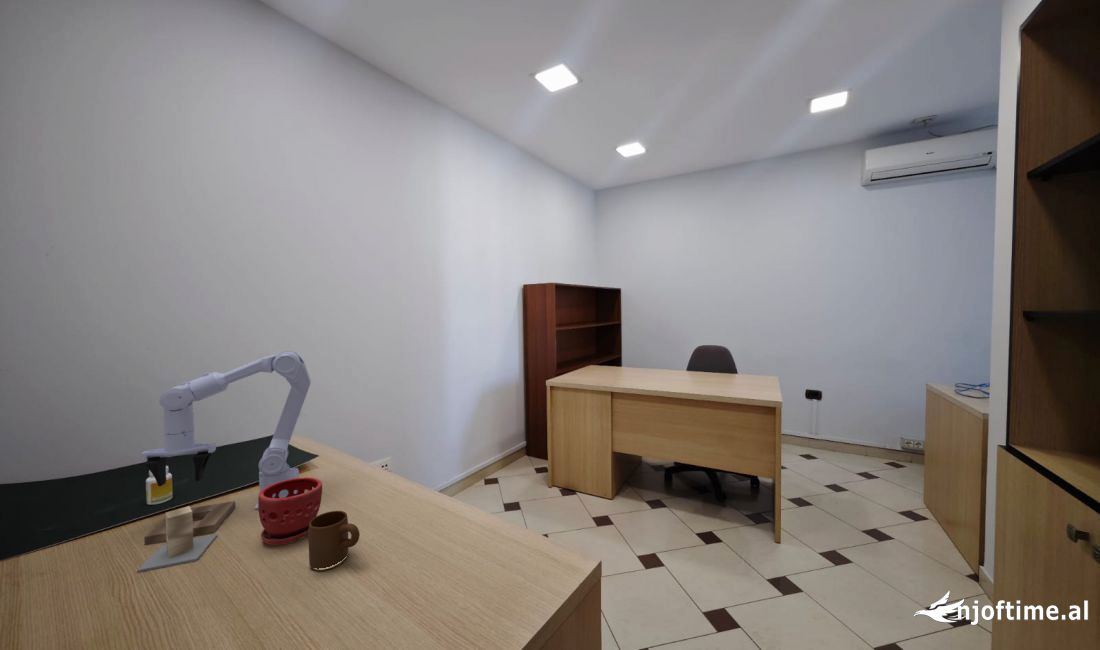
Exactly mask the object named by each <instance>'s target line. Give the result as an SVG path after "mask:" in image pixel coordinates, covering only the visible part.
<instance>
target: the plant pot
mask: <svg viewBox="0 0 1100 650" xmlns="http://www.w3.org/2000/svg"><path fill="white" fill-rule="evenodd" d="M282 490H287V491H288V495H287V496H286V497H284V498H280V497H279V493H280V492H281V491H282ZM294 490H297V491H298V492H297V493H296V494H295V493H294ZM306 490H307V491H306ZM305 491H306V492H305ZM273 494H276V496H275V497H274V498H273V497H272V496H273ZM322 495H323V482H322V481H321V480H320V479H318V478H315V477H299V478H294V479H288V480H284V481H281V482H277V483H274V484H272V485H270V486H268V487H266V488H264V489H263V490H261V492H260V491H259V494H258V500H257V503H258V509H257V510H258V516H259V520H260V523H261V526H262V528H263V530H262V531H261V533H260V539H261V540H262V541H263V542H264V543H266V544H267V545H276V546H277V545H278V546H279V545H286V544H287V545H288V544H290V543H294V542H296V541H299V540H301V539H304V538H305V537H306V536H308V531H309V523H310V521H311V520H312V519H313V518H315V517H316V516H318V515H319V514H318V513H319V511H320V508H321V503H322Z"/></svg>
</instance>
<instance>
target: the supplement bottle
mask: <svg viewBox="0 0 1100 650" xmlns="http://www.w3.org/2000/svg"><path fill="white" fill-rule="evenodd" d="M169 469H170V468H169V466H168V465H166V483H165V484H164V485H162V486H158V484H157V482H156V479H155V477H154V476H153V474H152V473H151V471H150V470H149V469H148V470H149V471H148V476H149V477H147V478H146V479H145V493H146V494H145V496H146V497H145V498H146V505H151V506H152V505H159V504H162V503H163V504H164V503H166V502H167V501H168V502H169V501H170V500H172V498H173V497H174V496H173V494H174V493H173V474H171V472H169Z"/></svg>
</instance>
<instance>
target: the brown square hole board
mask: <svg viewBox="0 0 1100 650" xmlns="http://www.w3.org/2000/svg"><path fill="white" fill-rule="evenodd" d="M190 508H191V510H192V519H193V537H197V536H203V535H207V534H209V535H210V534H215V532H216V531H217V530H218V529H219V528H220V527H221V526H222V524H223V523H224V522H225V521H226V520H227V519H228V518H229V516H230V513H231V514H232V513H233V511H235V509H236V501H234V500H233V501H227V502H220V503H215V504H209V505H208V504H207V505H202V506H201V505H200V506H196V507H190ZM225 519H226V520H225ZM224 520H225V521H224ZM143 539H144V541H143V542H144V546H148V545H153V544H160V543H163V542H164V543H165V542H166V517H165V518H164V519H163V520H162V521H160V523H159V524H157V525H156V526H155V527H154V528H153V529H151V530H150V531H149V532H148V533H147V534H146V535H145V536H144V537H143Z"/></svg>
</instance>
